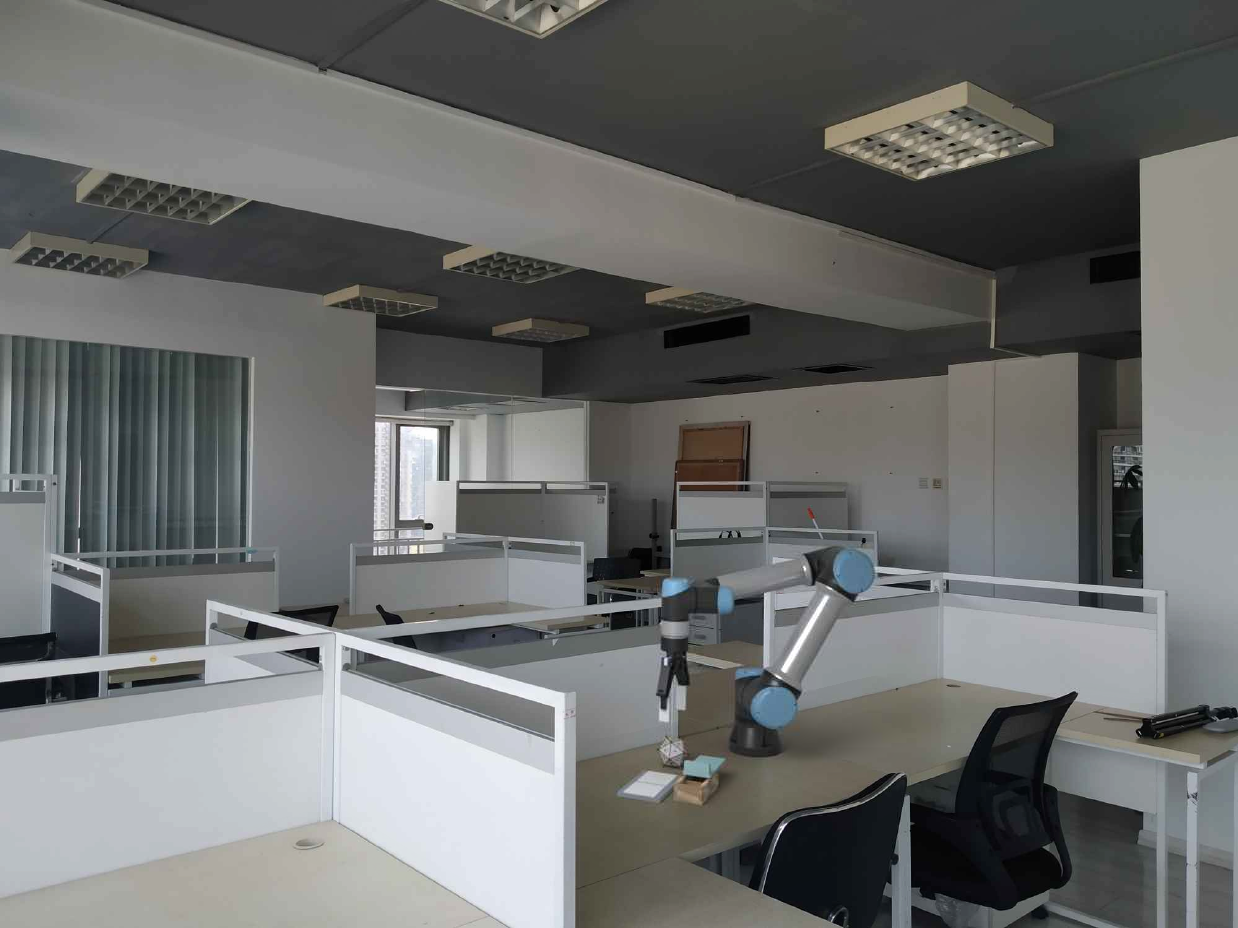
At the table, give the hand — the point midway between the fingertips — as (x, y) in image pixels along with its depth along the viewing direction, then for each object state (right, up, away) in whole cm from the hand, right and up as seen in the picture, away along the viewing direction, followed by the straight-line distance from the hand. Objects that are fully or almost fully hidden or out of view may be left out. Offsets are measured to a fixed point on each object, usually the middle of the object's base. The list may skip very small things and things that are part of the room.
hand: (672, 715), depth 241 cm
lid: (+7, -9, -14) cm, 18 cm away
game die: (0, -14, 0) cm, 14 cm away
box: (+5, -13, -21) cm, 25 cm away
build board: (-6, -13, -17) cm, 23 cm away
